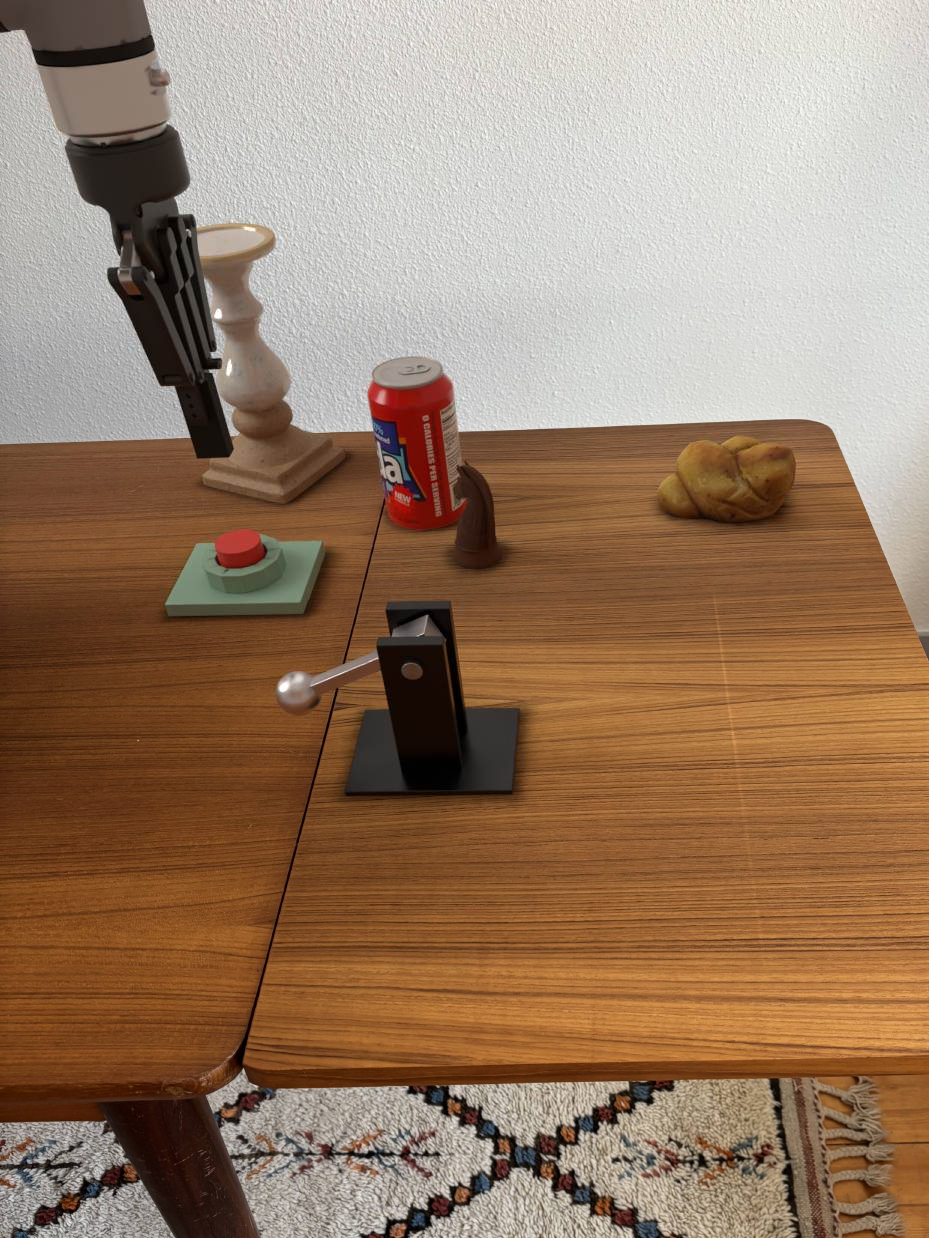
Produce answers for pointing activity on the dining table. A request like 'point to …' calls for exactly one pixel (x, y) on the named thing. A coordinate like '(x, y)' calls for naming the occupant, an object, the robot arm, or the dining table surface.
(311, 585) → the button block
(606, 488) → the dining table surface
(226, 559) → the button
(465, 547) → the chess piece
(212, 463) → the candle holder
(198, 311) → the robot arm
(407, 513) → the soda can
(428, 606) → the lever stand
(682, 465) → the bread roll
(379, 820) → the dining table surface
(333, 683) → the silver lever handle
